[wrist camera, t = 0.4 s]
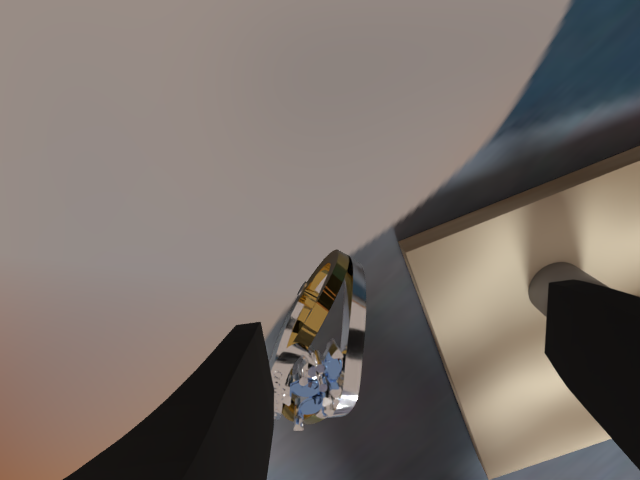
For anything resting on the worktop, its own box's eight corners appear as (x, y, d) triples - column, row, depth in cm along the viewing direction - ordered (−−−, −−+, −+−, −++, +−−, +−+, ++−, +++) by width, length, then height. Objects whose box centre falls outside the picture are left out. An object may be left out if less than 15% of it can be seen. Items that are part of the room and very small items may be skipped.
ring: (317, 216, 19) (328, 295, 12) (374, 248, 20) (418, 342, 13) (247, 329, 21) (218, 459, 14) (301, 355, 22) (302, 492, 14)
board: (749, 365, 24) (875, 442, 18) (478, 457, 25) (524, 553, 20) (734, 108, 19) (900, 114, 13) (398, 241, 20) (432, 293, 15)
